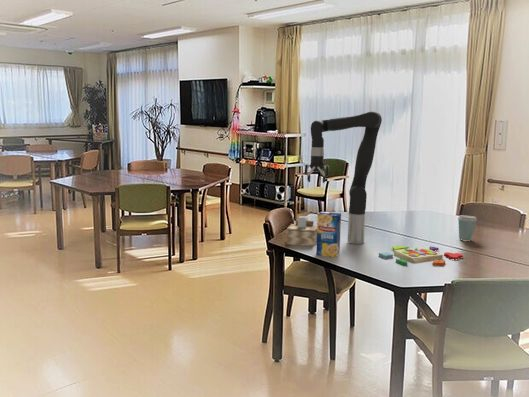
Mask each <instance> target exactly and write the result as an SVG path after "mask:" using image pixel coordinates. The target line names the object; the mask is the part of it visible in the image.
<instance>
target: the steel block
mask: <svg viewBox="0 0 529 397" xmlns="http://www.w3.org/2000/svg"><path fill="white" fill-rule="evenodd" d="M297 220H298V228H305V229H306V228H307V222H308V220H309V219H308V216H304V215H299V216H298V217H297Z"/></svg>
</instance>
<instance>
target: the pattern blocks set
mask: <svg viewBox="0 0 529 397" xmlns="http://www.w3.org/2000/svg"><path fill="white" fill-rule="evenodd" d="M391 250H392V251H393V254H392V253H390V252H387V251H384V252H383V251H382V252H379V253H378V257H379V258H382V259H384V260H387V259H393V258H394V257H396V259H395V263H397V264H399V265H401V266H405V267H408V262H409V263H413V264H421V263H422V264H423V263H427V262H430V261H431V260H433V262H432V263H431V264H432V265H440V266H439V267H444V266H443V265H445V264H446V260H445V259H443V260H442V259H441V258H443V257H444V256H446V257H445V258H448V257H449V258H448V259H449V260H450V259H454V260H453V261H456V260H455V259H458V258H461V257H464V255H463V253H459V252H448V251H447V252H443V253H444V254H443V253H439V252H438V251H439V247H437V246H436V247H435V246H429V248H427V247H424V246H422V247H421V246H420V247H411V248H409V246H405V245H393V246H392V249H391ZM435 250H438V251H435ZM393 256H394V257H393ZM398 258H399V259H398ZM435 259H438V260H435ZM461 259H462V258H461ZM458 260H459V259H458ZM426 261H427V262H426Z"/></svg>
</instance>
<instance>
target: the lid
mask: <svg viewBox="0 0 529 397" xmlns="http://www.w3.org/2000/svg"><path fill="white" fill-rule="evenodd" d="M287 230H297V231H309V232H315V231H316V230H317V225H314V220H309V219H308V222H307V228H306V229H305V228H298V219H295V223H291V224H290V225H288V227H287V228H286V231H287Z"/></svg>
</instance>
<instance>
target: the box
mask: <svg viewBox="0 0 529 397" xmlns="http://www.w3.org/2000/svg"><path fill="white" fill-rule="evenodd" d="M285 244H286V245H294V246H295V245H296V246H304V245H307V247H315V246H316V245H317V230H316V231H315V232H309V231H297V230H287V229H286V243H285ZM315 244H316V245H315Z"/></svg>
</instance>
